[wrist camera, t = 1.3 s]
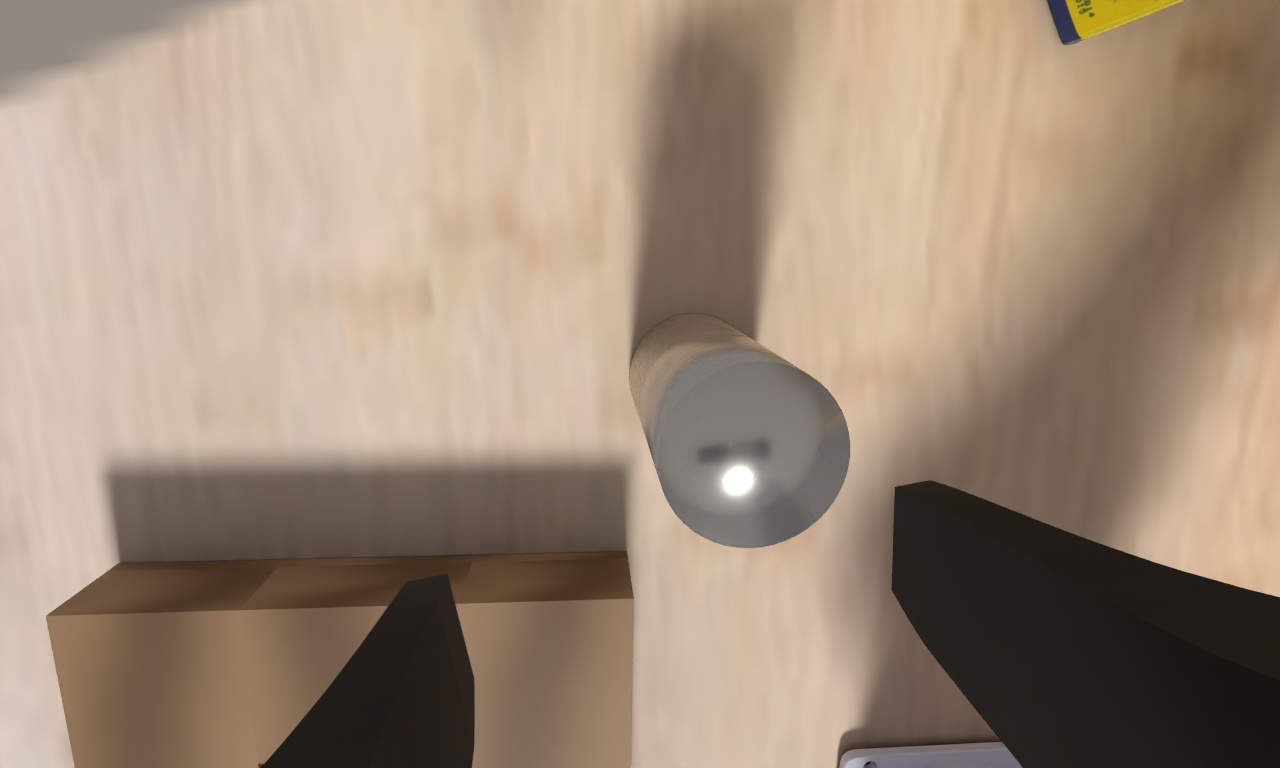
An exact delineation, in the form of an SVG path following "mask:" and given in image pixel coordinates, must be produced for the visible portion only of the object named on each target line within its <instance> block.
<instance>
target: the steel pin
mask: <svg viewBox="0 0 1280 768" xmlns="http://www.w3.org/2000/svg"><path fill="white" fill-rule="evenodd" d="M629 380H630V389H631V393H632V396H633V399H634V402H635V406H636V409H637V412H638V415H639V418H640V421H641V424H642V427H643V430H644V433H645V437H646V440H647V443H648V446H649V449H650V452H651V455H652V458H653V461H654V464H655V468H656V471H657V474H658V477H659V480H660V483H661V486H662V489H663V492H664V495H665V497H666V499H667V501H668V503H669V505H670V506H671V508H672V509H673V511H674V512H675V514H676V515H677V516H678V517H679V518H680V519H681V520H682V522H683V523H684V524H685V525H687V526H688V527H689V528H690V529H692V530H693V531H694V532H696V533H697V534H699V535H701V536H702V537H704V538H706V539H708V540H711V541H713V542H715V543H719V544H722V545H725V546H731V547H737V548H756V547H764V546H769V545H774V544H777V543H780V542H783V541H786V540H788V539H790V538H792V537H794V536H796V535H798V534H800V533H801V532H803V531H804V530H806V529H808V528H809V527H810V526H811V525H813V524H814V523H815V522H816V521H817V520H818V519H819V518H820V517H821V516H822V515H823V514H824V513H825V512H826V511H827V510H828V508H829V507H830V506H831V505H832V503H833V502H834V500H835V499H836V497H837V495H838V493H839V492H840V490H841V487H842V485H843V483H844V480H845V477H846V474H847V470H848V465H849V459H850V439H849V432H848V428H847V424H846V420H845V418H844V415H843V413H842V410H841V409H840V407H839V405H838V403H837V402H836V400H835V399H834V397H833V396H832V395H831V394H830V392H829V391H828V390H827V389H826V388H825V387H824V386H823V385H822V384H821V383H820V382H818V381H817V380H816V379H814V378H813V377H811V376H810V375H808V374H807V373H805V372H804V371H802V370H801V369H799V368H797V367H796V366H794V365H793V364H791V363H789V362H788V361H786V360H785V359H783V358H781V357H780V356H778V355H777V354H775V353H773V352H772V351H770V350H769V349H767V348H765V347H764V346H762V345H761V344H759V343H757V342H756V341H754V340H753V339H751V338H749V337H748V336H746V335H745V334H743V333H741V332H740V331H738V330H737V329H735V328H734V327H732V326H730V325H729V324H727V323H726V322H724V321H722V320H720V319H718V318H715V317H712V316H709V315H704V314H683V315H678V316H675V317H672V318H669V319H667V320H665V321H663V322H661V323H660V324H658V325H657V326H655V327H654V328H653V329H651V330H650V331H649V332H648V333H647V334H646V335H645V336H644V338H643V339H642V340H641V342H640V343H639V345H638V346H637V348H636V350H635V352H634V355H633V358H632V361H631V366H630V373H629Z"/></svg>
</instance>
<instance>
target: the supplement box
mask: <svg viewBox="0 0 1280 768" xmlns="http://www.w3.org/2000/svg"><path fill="white" fill-rule="evenodd" d="M1182 1H1185V0H1048V2H1049V5H1050V9H1051V12H1052V15H1053V18H1054V21H1055V24H1056V27H1057V30H1058V33H1059V36H1060V39H1061V42H1062V43H1063V44H1064V45H1070V44H1074V43H1077V42H1079V41H1082V40H1085V39H1087V38H1090V37H1093V36H1095V35H1098V34H1101V33H1103V32H1106V31H1108V30H1111V29H1114V28H1116V27H1119V26H1121V25H1124V24H1127V23H1129V22H1132V21H1134V20H1137V19H1139V18H1142V17H1145V16H1147V15H1150V14H1152V13H1155V12H1157V11H1160V10H1162V9H1165V8H1167V7H1169V6H1172V5H1174V4H1177V3H1179V2H1182Z"/></svg>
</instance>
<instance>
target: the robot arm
mask: <svg viewBox="0 0 1280 768" xmlns="http://www.w3.org/2000/svg"><path fill="white" fill-rule="evenodd" d="M892 591H893V593H894V595H895V597H896V598H897V600H898V602H899V603H900V605H901V607H902V609H903V610H904V612H905V614H906V615H907V617H908V619H909V621H910V622H911V624H912V625H913V627H914V629H915V630H916V632H917V633H918V635H919V636H920V638H921V640H922V641H923V643H924V644H925V646H926V647H927V648H928V650H929V651H930V652H931V653H932V655H933V656H934V657H935V659H936V660H937V661H938V662H939V664H940V665H941V666H942V668H943V669H944V670H945V671H946V673H947V674H948V675H949V676H950V678H951V679H952V680H953V681H954V683H955V684H956V685H957V687H958V688H959V689H960V690H961V692H962V693H963V694H964V695H965V696H966V698H967V699H968V700H969V701H970V703H971V704H972V705H973V706H974V708H975V709H976V710H977V711H978V713H979V714H980V715H981V716H982V718H983V719H984V720H985V721H986V723H987V724H988V725H989V726H990V728H991V729H992V730H993V731H994V733H995V734H996V735H997V736H998V738H999V739H1000V740H1001V741H1002V742H988V743H969V744H949V745H929V746H909V747H890V748H870V749H853V750H849V751H847V752H846V753H844V755H843V756H842V757H841V760H840V767H839V768H1280V597H1276V596H1272V595H1268V594H1264V593H1260V592H1256V591H1252V590H1248V589H1244V588H1241V587H1237V586H1234V585H1230V584H1226V583H1223V582H1219V581H1216V580H1212V579H1209V578H1205V577H1202V576H1198V575H1194V574H1191V573H1187V572H1184V571H1180V570H1177V569H1174V568H1171V567H1168V566H1164V565H1161V564H1158V563H1155V562H1152V561H1149V560H1146V559H1143V558H1140V557H1137V556H1134V555H1131V554H1128V553H1125V552H1122V551H1119V550H1116V549H1113V548H1111V547H1108V546H1105V545H1102V544H1099V543H1096V542H1094V541H1091V540H1088V539H1085V538H1083V537H1080V536H1077V535H1074V534H1072V533H1069V532H1066V531H1064V530H1061V529H1058V528H1056V527H1053V526H1051V525H1048V524H1046V523H1043V522H1040V521H1038V520H1035V519H1033V518H1030V517H1028V516H1025V515H1022V514H1020V513H1017V512H1015V511H1012V510H1010V509H1007V508H1005V507H1002V506H1000V505H997V504H995V503H992V502H989V501H987V500H984V499H982V498H979V497H977V496H974V495H971V494H969V493H966V492H963V491H961V490H958V489H955V488H952V487H949V486H946V485H944V484H940V483H937V482H934V481H930V480H929V481H924V482H919V483H914V484H908V485H903V486H898V487H895V500H894V533H893V566H892ZM474 737H475V679H474V675H473V671H472V667H471V663H470V659H469V656H468V652H467V648H466V644H465V640H464V636H463V632H462V628H461V624H460V620H459V616H458V613H457V609H456V605H455V601H454V597H453V593H452V589H451V585H450V581H449V577H448V574H443V575H438V576H433V577H428V578H423V579H418V580H412V581H407V582H406V583H405V584H404V586H403V587H402V588H401V589H400V591H399V592H398V593H397V595H396V596H395V597H394V599H393V600H392V601H391V603H390V604H389V606H388V607H387V608H386V610H385V611H384V613H383V614H382V615H381V617H380V618H379V620H378V621H377V622H376V624H375V625H374V627H373V628H372V629H371V631H370V632H369V634H368V635H367V636H366V638H365V639H364V640H363V642H362V643H361V645H360V646H359V647H358V649H357V650H356V651H355V653H354V654H353V655H352V657H351V658H350V659H349V661H348V662H347V663H346V665H345V666H344V667H343V669H342V670H341V671H340V673H339V674H338V675H337V676H336V678H335V679H334V680H333V682H332V683H331V684H330V686H329V687H328V688H327V690H326V691H325V692H324V693H323V695H322V696H321V697H320V698H319V700H318V701H317V702H316V703H315V704H314V706H313V707H312V708H311V709H310V711H309V712H308V713H307V714H306V715H305V717H304V718H303V719H302V720H301V721H300V723H299V724H298V725H297V726H296V727H295V729H294V730H293V731H292V732H291V733H290V735H289V736H288V737H287V738H286V739H285V741H284V742H283V743H282V744H281V745H280V746H279V748H278V749H277V750H276V751H275V752H274V753H273V754H272V755H271V757H270V758H269V759H268V760H267V761H266V762H265V763H264V764H263V765H262V766H261V767H260V768H472V763H473V754H474ZM870 761H872V762H871V763H870V764H868V765H864V764H866V763H867V762H870Z"/></svg>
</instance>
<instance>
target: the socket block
mask: <svg viewBox="0 0 1280 768" xmlns="http://www.w3.org/2000/svg"><path fill="white" fill-rule="evenodd" d="M443 574H448V577H449V581H450V585H451V589H452V593H453V597H454V601H455V605H456V609H457V613H458V616H459V620H460V624H461V628H462V632H463V636H464V640H465V644H466V648H467V652H468V656H469V659H470V663H471V667H472V671H473V675H474V679H475V737H474V754H473V763H472V768H631V721H632V665H633V608H634V597H633V591H632V584H631V577H630V570H629V564H628V557H627V551H625V552H582V553H539V554H497V555H454V556H411V557H368V558H325V559H282V560H239V561H196V562H154V563H118V564H117V565H116V566H114V567H113V568H112V569H110V570H109V571H107V572H106V573H105V574H103V575H102V576H101V577H99V578H98V579H96V580H95V581H94V582H92V583H91V584H89V585H88V586H87V587H85V588H84V589H83V590H81V591H80V592H78V593H77V594H76V595H74V596H73V597H71V598H70V599H69V600H67V601H66V602H65V603H63V604H62V605H60V606H59V607H58V608H56V609H55V610H53V611H52V612H51V613H49V614H48V615H47V616H46V619H47V624H48V630H49V635H50V640H51V645H52V650H53V656H54V661H55V666H56V671H57V676H58V682H59V687H60V692H61V697H62V702H63V708H64V713H65V718H66V723H67V728H68V733H69V739H70V744H71V749H72V754H73V759H74V765H75V768H260V767H261V766H262V765H263V764H264V763H265V762H266V761H267V760H268V759H269V758H270V757H271V755H272V754H273V753H274V752H275V751H276V750H277V749H278V748H279V746H280V745H281V744H282V743H283V742H284V741H285V739H286V738H287V737H288V736H289V735H290V733H291V732H292V731H293V730H294V729H295V727H296V726H297V725H298V724H299V723H300V721H301V720H302V719H303V718H304V717H305V715H306V714H307V713H308V712H309V711H310V709H311V708H312V707H313V706H314V704H315V703H316V702H317V701H318V700H319V698H320V697H321V696H322V695H323V693H324V692H325V691H326V690H327V688H328V687H329V686H330V684H331V683H332V682H333V680H334V679H335V678H336V676H337V675H338V674H339V673H340V671H341V670H342V669H343V667H344V666H345V665H346V663H347V662H348V661H349V659H350V658H351V657H352V655H353V654H354V653H355V651H356V650H357V649H358V647H359V646H360V645H361V643H362V642H363V640H364V639H365V638H366V636H367V635H368V634H369V632H370V631H371V629H372V628H373V627H374V625H375V624H376V622H377V621H378V620H379V618H380V617H381V615H382V614H383V613H384V611H385V610H386V608H387V607H388V606H389V604H390V603H391V601H392V600H393V599H394V597H395V596H396V595H397V593H398V592H399V591H400V589H401V588H402V587H403V586H404V584H405V583H406V582H407V581H412V580H418V579H423V578H428V577H433V576H438V575H443Z"/></svg>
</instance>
